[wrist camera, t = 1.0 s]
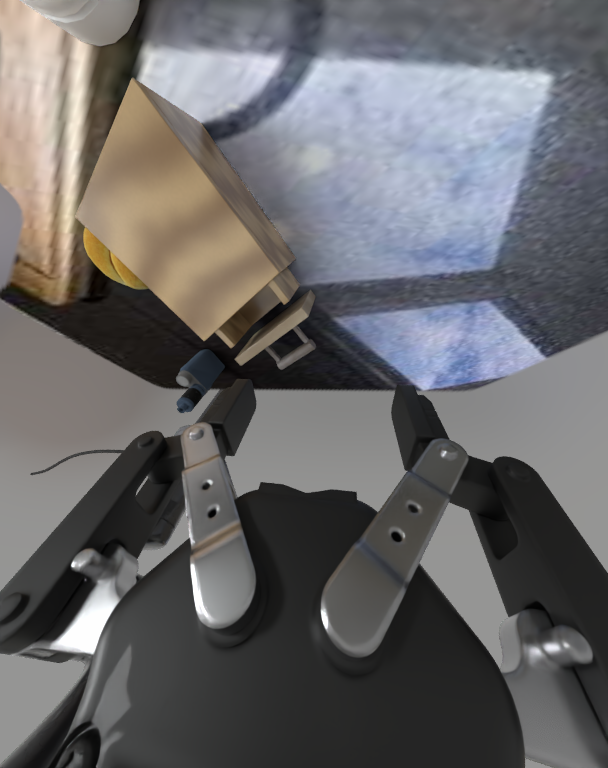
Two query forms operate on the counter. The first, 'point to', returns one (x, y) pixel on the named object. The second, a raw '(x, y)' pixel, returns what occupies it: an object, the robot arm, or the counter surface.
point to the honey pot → (89, 17)
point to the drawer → (284, 322)
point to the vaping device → (198, 378)
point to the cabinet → (180, 213)
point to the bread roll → (110, 262)
